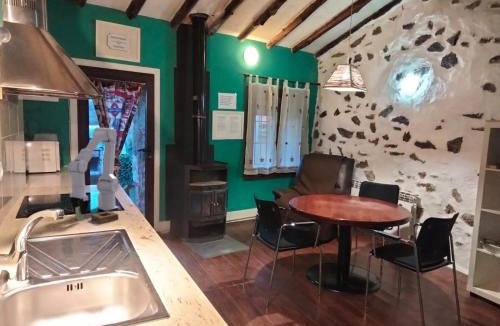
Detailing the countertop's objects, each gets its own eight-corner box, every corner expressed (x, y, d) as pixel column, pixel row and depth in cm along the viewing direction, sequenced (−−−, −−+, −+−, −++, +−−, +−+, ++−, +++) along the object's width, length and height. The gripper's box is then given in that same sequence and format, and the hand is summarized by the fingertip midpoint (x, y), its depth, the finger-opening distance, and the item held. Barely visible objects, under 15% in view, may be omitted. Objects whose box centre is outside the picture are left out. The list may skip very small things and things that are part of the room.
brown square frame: (91, 219, 163) (91, 214, 162) (108, 215, 170) (108, 210, 170) (100, 223, 157) (100, 218, 157) (118, 219, 164) (118, 214, 164)
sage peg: (76, 219, 163) (75, 207, 162) (81, 217, 166) (81, 206, 165) (78, 220, 162) (78, 208, 161) (84, 219, 164) (83, 207, 163)
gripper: (63, 184, 162) (64, 211, 164) (76, 188, 154) (78, 217, 155) (77, 182, 168) (79, 208, 170) (92, 186, 159) (93, 214, 161)
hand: (79, 212), depth 163 cm, fingers open, 7 cm apart
